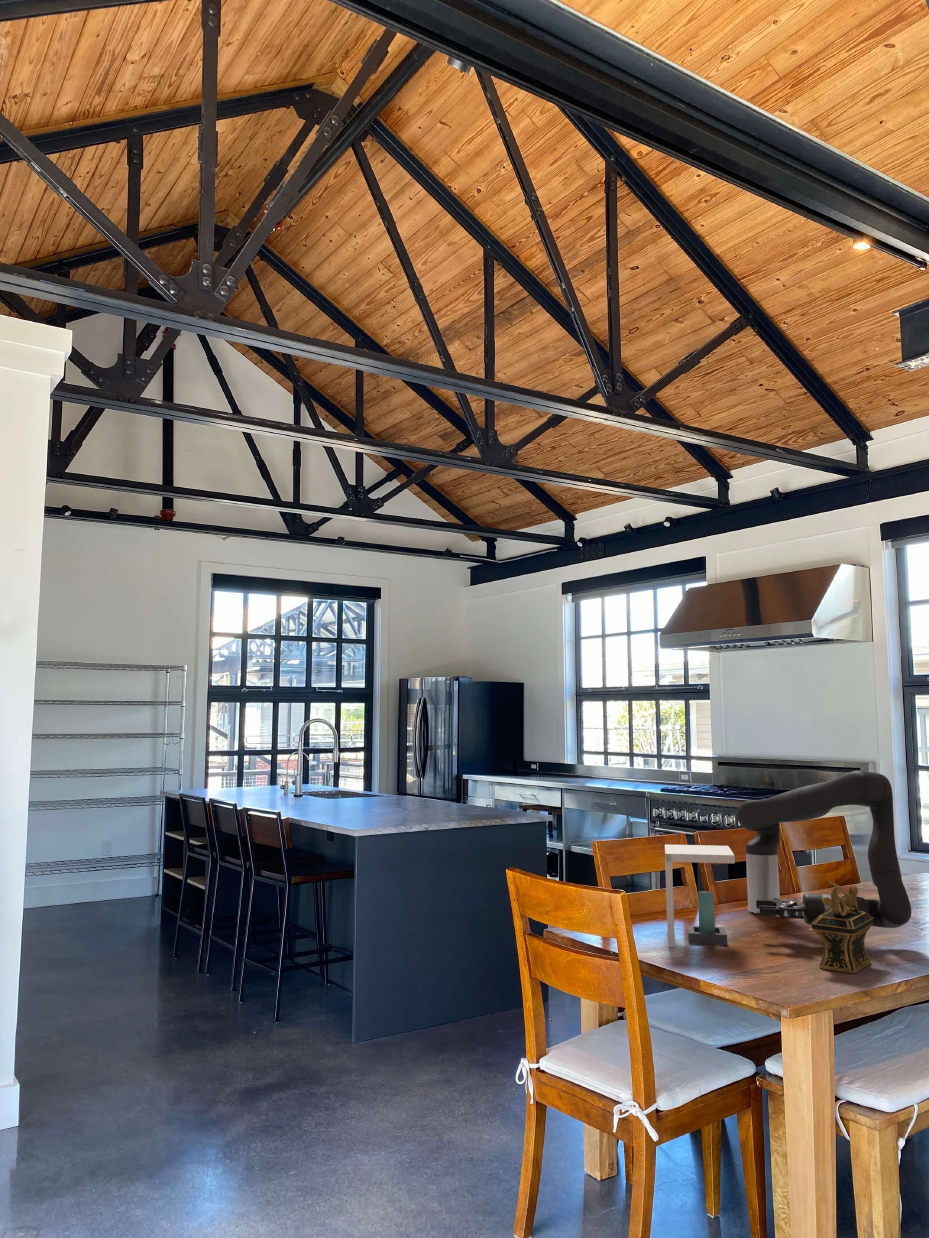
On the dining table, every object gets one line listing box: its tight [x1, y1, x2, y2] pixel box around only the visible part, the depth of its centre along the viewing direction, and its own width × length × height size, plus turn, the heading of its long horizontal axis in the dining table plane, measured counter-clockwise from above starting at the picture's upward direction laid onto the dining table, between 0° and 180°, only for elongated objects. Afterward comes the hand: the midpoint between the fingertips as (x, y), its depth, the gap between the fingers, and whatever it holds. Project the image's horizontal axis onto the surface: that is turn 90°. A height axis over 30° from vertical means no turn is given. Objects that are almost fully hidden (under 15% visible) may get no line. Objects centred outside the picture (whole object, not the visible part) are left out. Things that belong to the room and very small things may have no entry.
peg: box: [697, 890, 716, 933], centre depth 231 cm, size 4×4×12 cm
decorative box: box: [810, 875, 874, 975], centre depth 204 cm, size 20×10×20 cm, turn 140°
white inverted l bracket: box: [664, 843, 736, 948], centre depth 232 cm, size 20×17×23 cm
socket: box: [687, 925, 728, 946], centre depth 230 cm, size 10×10×2 cm
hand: (757, 907), depth 229 cm, fingers open, 8 cm apart
